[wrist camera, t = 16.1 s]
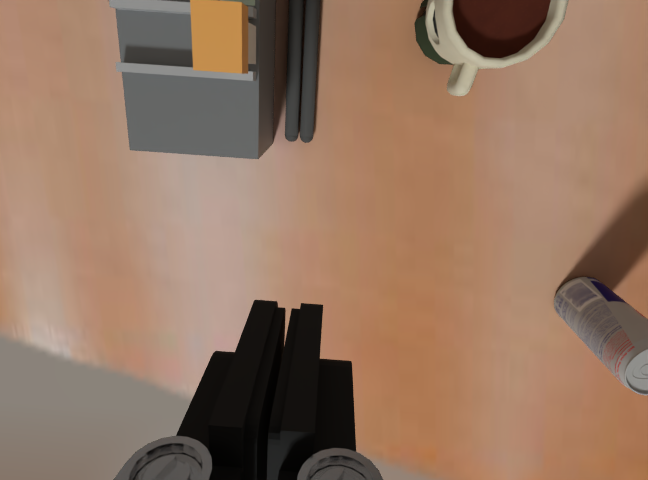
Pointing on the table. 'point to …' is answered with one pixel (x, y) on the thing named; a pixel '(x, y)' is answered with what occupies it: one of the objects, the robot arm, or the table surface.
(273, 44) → the grey box
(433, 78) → the table surface
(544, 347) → the table surface
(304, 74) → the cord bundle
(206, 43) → the switch
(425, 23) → the character mug
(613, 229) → the table surface
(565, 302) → the energy drink
